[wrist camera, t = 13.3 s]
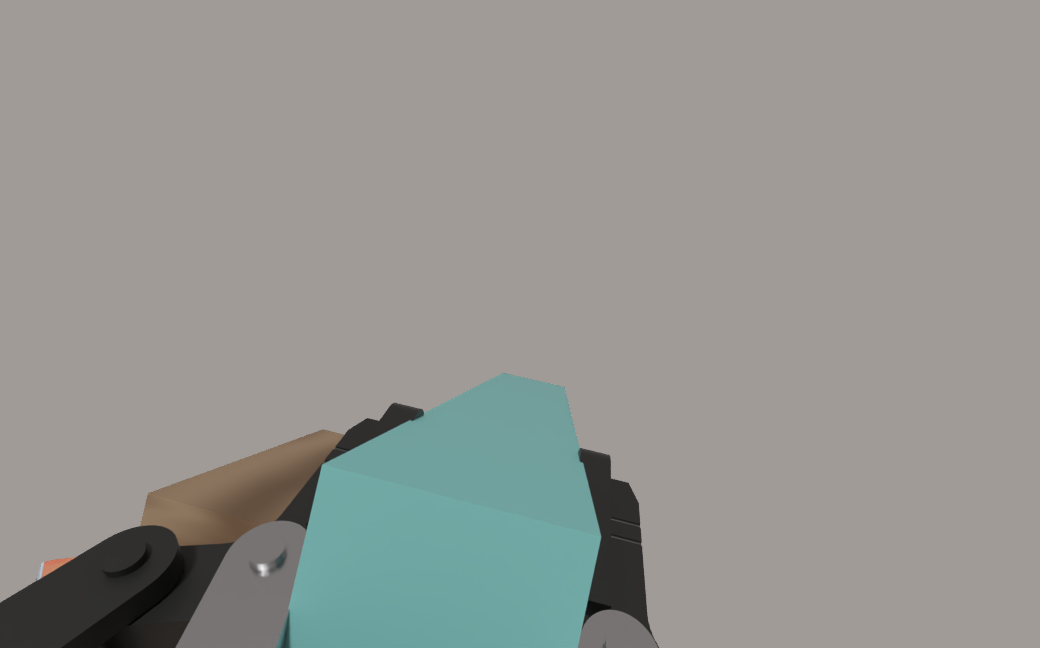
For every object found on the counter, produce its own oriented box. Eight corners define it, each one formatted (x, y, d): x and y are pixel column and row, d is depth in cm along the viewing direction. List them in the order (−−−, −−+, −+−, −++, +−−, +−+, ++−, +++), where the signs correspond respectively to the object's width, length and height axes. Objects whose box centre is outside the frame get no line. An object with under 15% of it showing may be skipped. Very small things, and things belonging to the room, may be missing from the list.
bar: (255, 748, 6) (321, 464, 6) (489, 434, 28) (503, 372, 28) (536, 841, 6) (601, 537, 6) (550, 449, 28) (564, 386, 28)
